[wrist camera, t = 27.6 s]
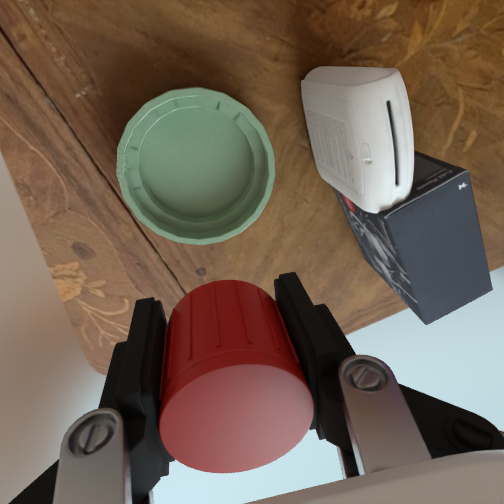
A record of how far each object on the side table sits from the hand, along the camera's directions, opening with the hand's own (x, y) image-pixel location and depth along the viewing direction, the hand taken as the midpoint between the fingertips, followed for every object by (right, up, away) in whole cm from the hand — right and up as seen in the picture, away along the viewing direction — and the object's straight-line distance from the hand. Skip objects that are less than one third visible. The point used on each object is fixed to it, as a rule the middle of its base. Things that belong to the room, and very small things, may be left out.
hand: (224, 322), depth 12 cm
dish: (-4, +11, +21) cm, 24 cm away
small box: (+14, +8, +26) cm, 31 cm away
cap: (0, 0, 0) cm, 0 cm away
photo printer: (+8, +15, +21) cm, 27 cm away
